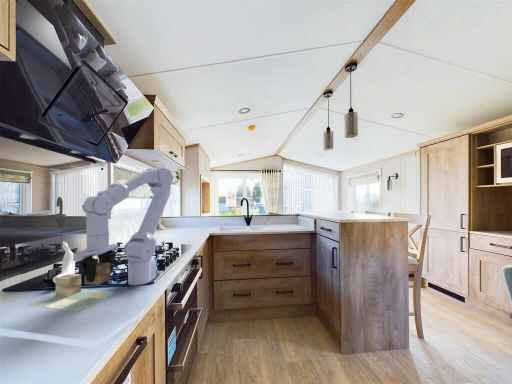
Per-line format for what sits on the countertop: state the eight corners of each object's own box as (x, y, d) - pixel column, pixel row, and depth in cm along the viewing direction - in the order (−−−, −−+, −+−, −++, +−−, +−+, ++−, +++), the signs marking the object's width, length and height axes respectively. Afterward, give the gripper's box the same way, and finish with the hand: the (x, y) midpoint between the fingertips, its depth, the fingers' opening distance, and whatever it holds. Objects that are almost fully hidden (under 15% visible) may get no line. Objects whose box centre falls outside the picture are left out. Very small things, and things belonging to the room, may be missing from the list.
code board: (72, 291, 83) (72, 288, 83) (115, 295, 80) (115, 291, 80) (27, 309, 70) (28, 305, 70) (76, 314, 67) (76, 311, 67)
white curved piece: (52, 294, 81) (52, 249, 81) (61, 278, 97) (61, 240, 97) (70, 291, 83) (70, 247, 84) (76, 275, 100) (76, 239, 100)
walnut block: (97, 278, 79) (97, 261, 79) (109, 279, 78) (109, 262, 78) (84, 283, 75) (84, 265, 75) (97, 284, 74) (97, 266, 74)
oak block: (69, 290, 82) (69, 273, 82) (81, 291, 81) (81, 274, 81) (55, 295, 77) (55, 278, 77) (67, 296, 76) (67, 279, 76)
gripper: (105, 230, 85) (105, 270, 85) (64, 238, 71) (64, 286, 70) (123, 231, 83) (123, 271, 83) (84, 238, 69) (84, 287, 69)
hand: (97, 278), depth 77 cm, fingers closed on walnut block, 5 cm apart
